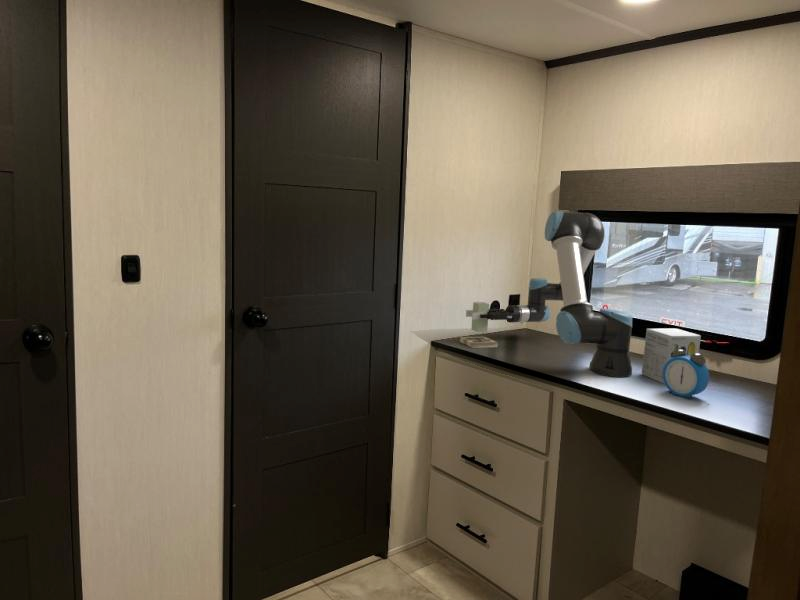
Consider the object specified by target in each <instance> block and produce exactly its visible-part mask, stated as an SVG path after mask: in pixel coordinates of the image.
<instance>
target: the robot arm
mask: <svg viewBox="0 0 800 600" xmlns="http://www.w3.org/2000/svg"><path fill="white" fill-rule="evenodd" d="M544 239H545V240H546V241H547V242H551V247H552V249H554V250H555V251H556V256H557V262H558V263H557V264H558V270H559V278H560V279H559V280H560V282H559V283H551V282H548V280H547V279H546V278H540V277H532V278H531V279H530V280H529V286H528V298H527V299H528V300H527V304H521V305H520V304H517V305H507V307H506V308H505V309H504V308H499V309H498V308H489V312H488V311H487V313H486V312H484V313H473V309H470V310H469V309H468V310H467V309H466V310H465V317H468V318H470V317H471V320H472V319H486V318H487V319H488V320H490V321H501V320H503V321H507V322H508V323H520V324H523V323H541V322H542V323H543V322H546V321H548V320H549V319H550V317H551V311H550V310H551V309H550V307H549V306H548V305H547V304H546V301H560V302H561V301H562V302H563V305H562V307H561V308H560V309H559V310H560V311H559V312H558V314H557V316H556V320H555V321H556V322H555V326H556V327H555V328H556V332H557V336H558V337H559V338H560V340H561V341H563V342H564V343H566V344H573V345H578V344H579V345H580V344H582V345H595V346H596V347H595V351H594V353H593V356H592V358H591V361H590V362H589V366H588V369H589V371H590V372H593V373H594V374H598V375H602V376H606V377H613V378H615V377H616V378H624V377H625V378H627V377H630V376H632V374H633V367H632V361H631V357H630V349H631V348H630V346H631V340H632V339H631V337H632V331H633V330H632V328H633V316H632V315H631V314H629V313H627V312H624V311H620V310H616V309H610V308H603V307H602V308H600V309H599V312H595V311H594V308H593V305H592V304H591V303H590V302H588V296H587V292H586V291H587V290H586V284H585V283H586V282H585V277H584V275H585V272H586V271H587V268H588V267H589V265H590V262H591V261H592V259H593V257H594V255H595V254H596V252H597V251H598V250H600V248H601V247H602V245H603V243H604V240H605V227H604V224H603V222H602V221H601V220H600V219H599V217H598V216H596V215H595V214H593V213H590V212H572V211H571V212H570V211H562V210H561V211H553V212H551V213H550V214H549V215H548V217H547V220H546V222H545V227H544Z"/></svg>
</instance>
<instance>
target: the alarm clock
mask: <svg viewBox="0 0 800 600" xmlns="http://www.w3.org/2000/svg"><path fill="white" fill-rule="evenodd" d="M684 354H686V352H685V351H684V350H682V349H676V350H674V351H672V353H671V355H670V356H671V358H672V359H670V360H669V361H668V362H667V363H666V364H665V366H664V368H663V380H664V383H665V384H664V383H663V384H664V385H665V386H666V388H667V389H668V391H669V394H673V395H675V396H678V397H682V398H683V397H684V398H685V397H687V398H688V400H690V399H691V396H695V395H698V394H701V393H703V392H704V391H705V390H706V388H708V386H709V382H710V373H709V369H708V367H707V366H706V363H707V359H706V357H705V356H704V355H703V354H702V353H700V352H699V353H693V354H692V355H684ZM687 354H690V353H688V352H687ZM681 355H684V356H681ZM677 356H678V357H677ZM673 357H674V358H673Z"/></svg>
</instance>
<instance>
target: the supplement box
mask: <svg viewBox="0 0 800 600" xmlns="http://www.w3.org/2000/svg"><path fill="white" fill-rule="evenodd" d="M701 337H702V335H700V334H697V333H693V332H689V331H686V330H683V329H680V328H673V327H672V328H670V327H669V328H666V327H664V328H662V327H661V328H660V327H659V328H646V332H645V340H644V351H643V358H642V367H641V375H643V376H646V377H648V378H651V379H652V380H655V381H657V382H660V383H661V384H664V385H665V383H664V380H663V368H664V366H665V364H666V363H667V362H668V361H669V360H670V359H672V358H671V356H670V355H671V353H672V351H674V350H676V349H682V350H684V351H685V352H686V354H684V355H692V354H693V353H700V348H701V347H700V346H701V345H700V344H701V340H702V339H701ZM687 352H688V353H690V354H687ZM684 355H681V356H684ZM677 357H678V356H677ZM673 358H674V357H673Z"/></svg>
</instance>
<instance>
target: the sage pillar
mask: <svg viewBox="0 0 800 600" xmlns="http://www.w3.org/2000/svg"><path fill="white" fill-rule="evenodd" d="M489 309H490V303H488V302H485V301H473V302H472V310H473V313H484V312H486V313H487V311H488V312H489ZM488 325H489V319H487V318H486V319H472V318H471V331H473V332H476V333H483V332H485V333H486V332H488V328H489V327H488Z"/></svg>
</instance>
